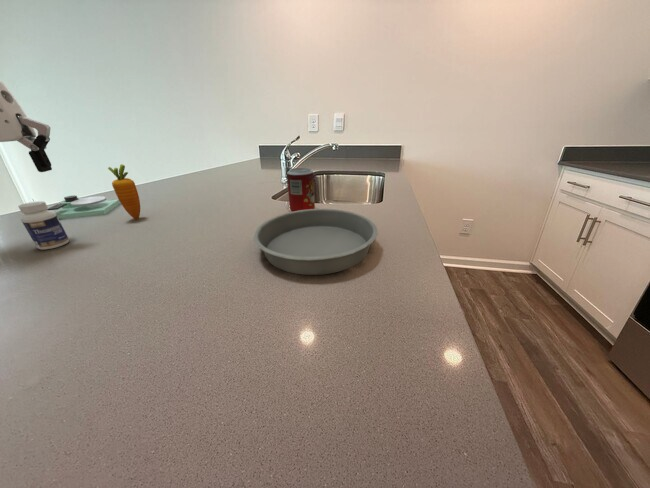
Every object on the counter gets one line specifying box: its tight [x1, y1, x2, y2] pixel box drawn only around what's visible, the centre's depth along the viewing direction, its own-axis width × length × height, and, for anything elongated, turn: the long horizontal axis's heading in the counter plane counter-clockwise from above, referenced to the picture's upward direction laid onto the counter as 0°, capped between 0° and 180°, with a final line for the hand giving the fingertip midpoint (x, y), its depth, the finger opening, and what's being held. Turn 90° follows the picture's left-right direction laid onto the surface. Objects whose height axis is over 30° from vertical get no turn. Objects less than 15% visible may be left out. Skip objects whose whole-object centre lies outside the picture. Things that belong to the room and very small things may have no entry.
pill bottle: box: [18, 200, 70, 251], centre depth 56 cm, size 5×5×10 cm
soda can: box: [286, 167, 316, 212], centre depth 71 cm, size 7×7×12 cm
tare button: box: [63, 195, 79, 202], centre depth 81 cm, size 3×3×2 cm
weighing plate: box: [71, 195, 107, 206], centre depth 79 cm, size 8×8×1 cm
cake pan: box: [252, 208, 379, 276], centre depth 53 cm, size 25×25×4 cm
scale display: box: [47, 203, 67, 211], centre depth 75 cm, size 2×5×1 cm, turn 17°
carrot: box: [107, 164, 141, 221], centre depth 69 cm, size 5×5×15 cm
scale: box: [54, 197, 121, 220], centre depth 80 cm, size 14×12×3 cm
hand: (16, 173), depth 51 cm, fingers open, 9 cm apart
